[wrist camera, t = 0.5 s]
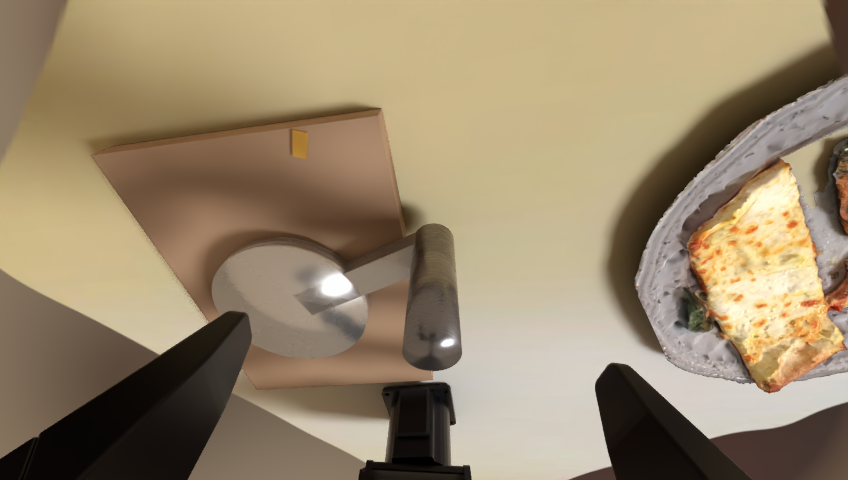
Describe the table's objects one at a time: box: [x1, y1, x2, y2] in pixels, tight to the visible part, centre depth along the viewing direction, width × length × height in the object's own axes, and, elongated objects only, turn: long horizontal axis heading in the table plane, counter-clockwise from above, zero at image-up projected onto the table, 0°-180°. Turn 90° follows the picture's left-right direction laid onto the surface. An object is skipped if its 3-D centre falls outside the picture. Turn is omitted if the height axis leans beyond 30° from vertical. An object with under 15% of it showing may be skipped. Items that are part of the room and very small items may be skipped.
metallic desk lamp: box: [212, 224, 462, 371], centre depth 19 cm, size 17×10×8 cm, turn 118°
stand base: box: [91, 109, 433, 390], centre depth 24 cm, size 22×16×2 cm
